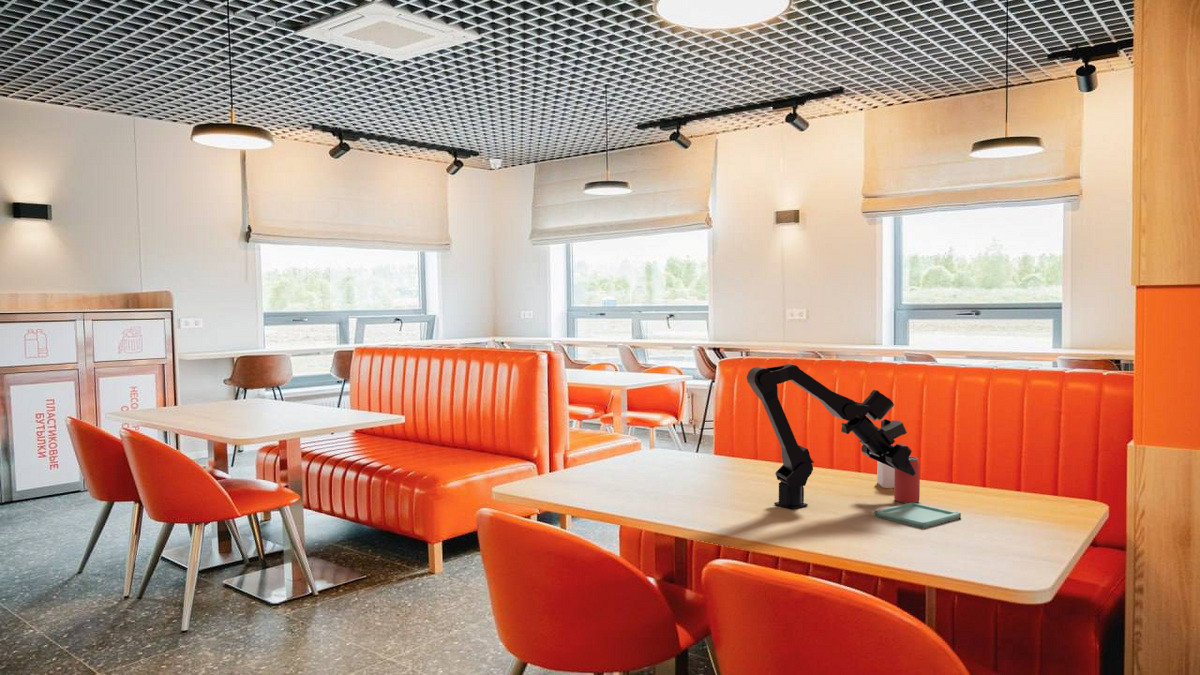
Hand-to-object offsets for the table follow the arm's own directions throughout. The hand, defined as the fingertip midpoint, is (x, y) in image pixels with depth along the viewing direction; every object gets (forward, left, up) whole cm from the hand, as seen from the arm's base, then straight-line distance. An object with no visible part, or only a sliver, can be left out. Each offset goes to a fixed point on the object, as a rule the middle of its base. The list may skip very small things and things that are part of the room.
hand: (905, 471), depth 225 cm
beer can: (0, 0, -8) cm, 9 cm away
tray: (-13, -12, -8) cm, 19 cm away
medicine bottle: (+13, +14, -9) cm, 21 cm away
